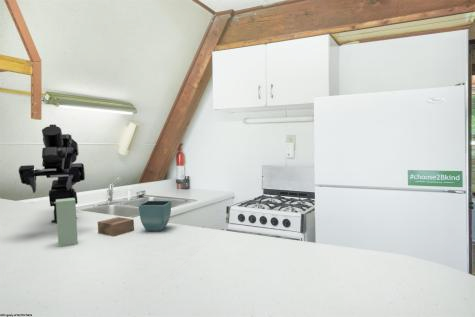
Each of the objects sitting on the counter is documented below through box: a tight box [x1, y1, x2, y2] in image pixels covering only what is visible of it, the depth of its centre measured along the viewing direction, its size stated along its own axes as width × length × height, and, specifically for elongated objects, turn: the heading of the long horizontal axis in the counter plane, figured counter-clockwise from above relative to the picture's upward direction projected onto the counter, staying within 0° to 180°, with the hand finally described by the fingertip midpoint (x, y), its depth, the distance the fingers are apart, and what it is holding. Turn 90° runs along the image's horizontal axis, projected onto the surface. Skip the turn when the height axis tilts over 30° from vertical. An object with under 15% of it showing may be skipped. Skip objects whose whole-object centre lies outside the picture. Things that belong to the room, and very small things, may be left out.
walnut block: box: [97, 216, 135, 237], centre depth 116 cm, size 8×8×4 cm
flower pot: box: [137, 200, 173, 232], centre depth 117 cm, size 9×9×9 cm
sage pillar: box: [55, 198, 79, 247], centre depth 104 cm, size 5×5×13 cm
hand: (50, 190), depth 109 cm, fingers open, 9 cm apart
